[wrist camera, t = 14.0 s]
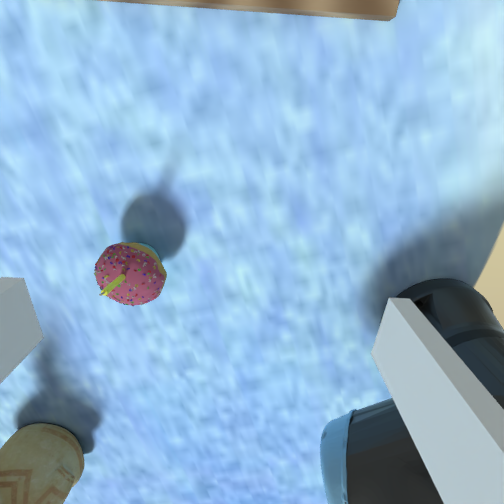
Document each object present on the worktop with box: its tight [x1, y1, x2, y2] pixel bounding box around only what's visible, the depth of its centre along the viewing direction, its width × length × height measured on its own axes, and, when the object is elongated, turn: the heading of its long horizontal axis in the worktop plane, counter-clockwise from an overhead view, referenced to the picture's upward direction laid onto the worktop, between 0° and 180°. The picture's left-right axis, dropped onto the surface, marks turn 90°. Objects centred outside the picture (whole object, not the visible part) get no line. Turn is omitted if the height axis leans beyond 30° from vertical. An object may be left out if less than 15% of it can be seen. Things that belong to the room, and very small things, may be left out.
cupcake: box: [94, 242, 167, 306], centre depth 34 cm, size 9×8×12 cm
